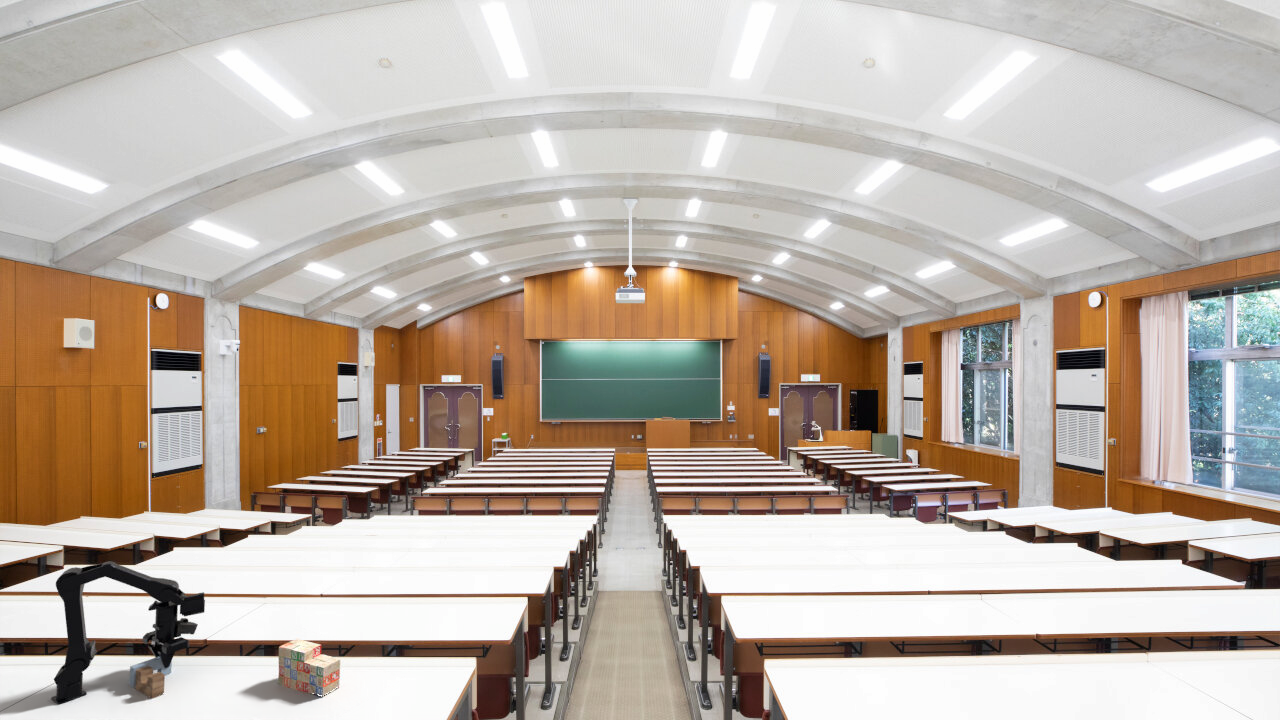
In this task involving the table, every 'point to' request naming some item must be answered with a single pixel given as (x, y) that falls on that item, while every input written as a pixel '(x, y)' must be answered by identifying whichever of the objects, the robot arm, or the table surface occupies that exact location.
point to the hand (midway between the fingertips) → (164, 666)
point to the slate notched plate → (152, 663)
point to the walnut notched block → (149, 682)
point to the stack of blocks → (307, 668)
